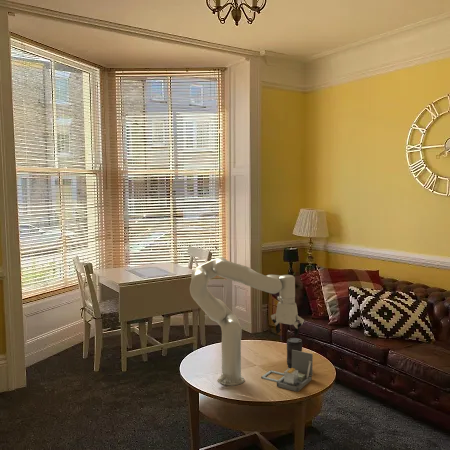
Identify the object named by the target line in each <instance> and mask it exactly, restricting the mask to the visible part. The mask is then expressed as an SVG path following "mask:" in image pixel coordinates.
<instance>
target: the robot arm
mask: <svg viewBox="0 0 450 450" xmlns="http://www.w3.org/2000/svg"><path fill="white" fill-rule="evenodd" d="M190 276H191V280H190V284H189V293H190V296H191V298H192V300H193V301H194V302H195V303H196V304H197V305H198V307H200V309H201V310H202V311H203V312H204V313H205V314H206V316H207V317H208V319H210V320H211V321H213V322H216V324H218V325H219V327H220V330H221V375H220V376H219V377H218V379H217V381H216V382H217V383H218V384H221V385H224V386H229V387H230V386H231V387H234V386H238V385H242V384H243V383H244V382H245V377H244V376H243V375H242V331H243V330H242V325H241V323H240V320H239V318H238V316H237V315H236V314H235V313H234V312H233V311H232V310H231V309H230V308H229V307H228V306H227V304H226V303H225V302H224V301H223V300H222V299H220V298H216V296H214V295H213V293H212V292H211V291H209V288H208V285H209V282H210V280H211V279H213V278H215V277H218V278H219V277H220V278H222V279H226V280H230V281H233V282H236V283H240V284H243V285H244V286H248V287H250V288H253V289H255V290H259V291H262V292H265V293H268V294H278V293H279V295H278V296H277V297H276V300H278V302H277V305H276V312H275V313H274V314H271V315H270V318H271V321H272V322H273V323H274V325H275V331H276V332H275V333H276V334H279V333H280V332H281V324H285V325H290V326H291V325H293V326H294V327H295V328H293V330H294V332H293V333H294V334H293V335H294V337H297V336H298V335H299V333H300V327H301V326H302V325H304V324H303V323H304V322H305V319H304V318H302V317H301V316H299V315H298V314H299V313H298V307H297V302H296V278H295V276H294V275H292V274H282V275H279V274H267V275H264V274H263V273H260V272H257V271H255V270H254V269H252V268H250V267H249V266H247V265H242V264H241V263H236V262H233V261H229V260H228V259H226V258H225V257H222V256H221V257H215V258H214V259H211V260H209V261H207V262H205V263H203V264H201V265H199V266H196V267H195V268H194V269H193V270H192V272H191V275H190ZM298 321H299V322H298Z"/></svg>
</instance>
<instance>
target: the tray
mask: <svg viewBox="0 0 450 450" xmlns="http://www.w3.org/2000/svg"><path fill="white" fill-rule="evenodd" d="M271 373H273V374H276V375H281V376H282V377H280V378H279V379H275V378H270V377H268V376H269V375H270V374H271ZM283 377H284V372H280V371H277V370H276V371H275V370H269V371H267V372H266V373H265V374H263V375H262V376H261V377H260V379H263V380H266V381H271V382H275V383H277V382H278V381H279V380H281V379H282V378H283Z"/></svg>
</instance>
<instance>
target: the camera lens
mask: <svg viewBox="0 0 450 450" xmlns="http://www.w3.org/2000/svg"><path fill="white" fill-rule="evenodd" d="M292 350H296V351H301V352H303V340H302V339H301V338H297V337H289V338H288V339H287V340H286V365H287V368H290V369H291V368H292Z"/></svg>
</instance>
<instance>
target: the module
mask: <svg viewBox="0 0 450 450" xmlns="http://www.w3.org/2000/svg"><path fill="white" fill-rule="evenodd" d="M283 373H284V375H283V376H284V384H288V385H291V386H295V387H296V386H297V385H298V370H295V368H289V367H287V369H286V370H284V371H283Z"/></svg>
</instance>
